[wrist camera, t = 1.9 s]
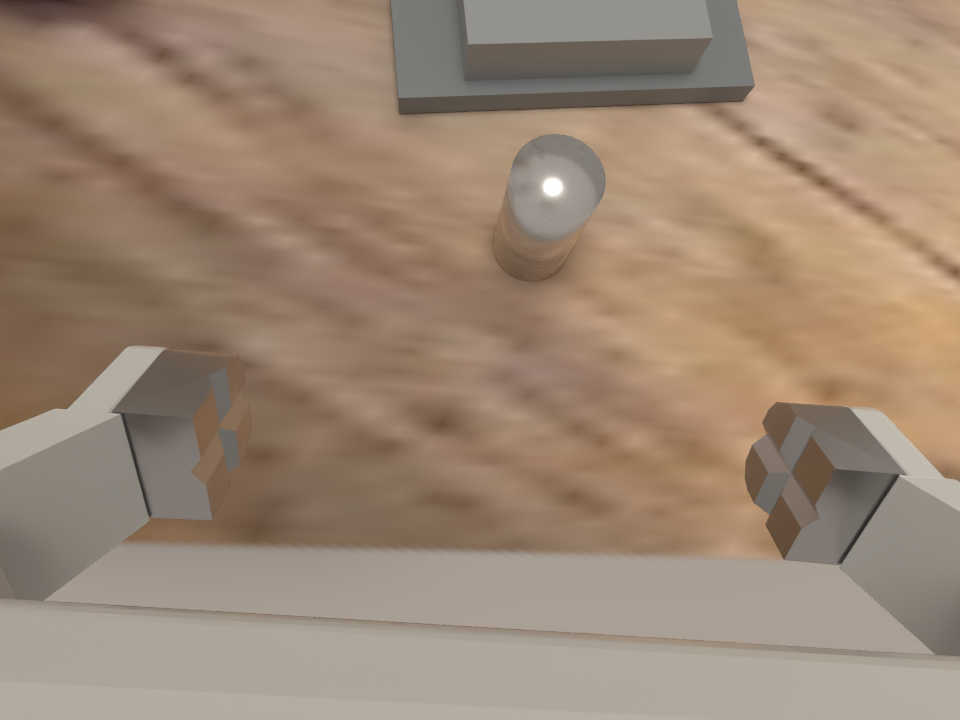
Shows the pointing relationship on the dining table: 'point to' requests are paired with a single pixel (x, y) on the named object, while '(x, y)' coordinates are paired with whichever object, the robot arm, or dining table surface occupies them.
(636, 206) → the dining table surface
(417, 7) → the socket housing
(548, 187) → the metal pin
